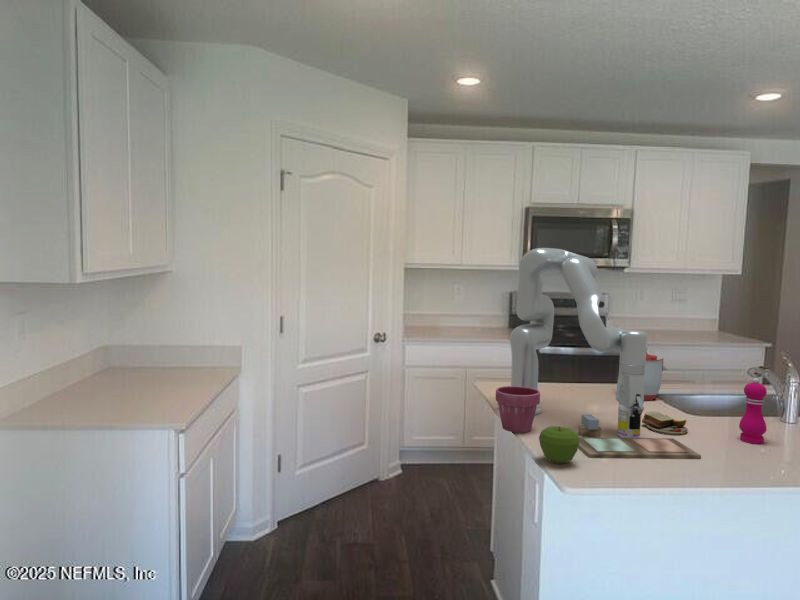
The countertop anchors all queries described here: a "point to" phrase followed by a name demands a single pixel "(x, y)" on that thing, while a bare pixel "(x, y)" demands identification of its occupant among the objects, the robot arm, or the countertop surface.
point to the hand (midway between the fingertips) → (629, 425)
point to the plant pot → (517, 407)
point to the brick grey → (590, 422)
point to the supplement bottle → (626, 423)
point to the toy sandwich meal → (664, 423)
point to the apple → (558, 444)
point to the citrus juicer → (652, 376)
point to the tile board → (636, 448)
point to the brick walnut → (588, 431)
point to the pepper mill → (753, 413)
